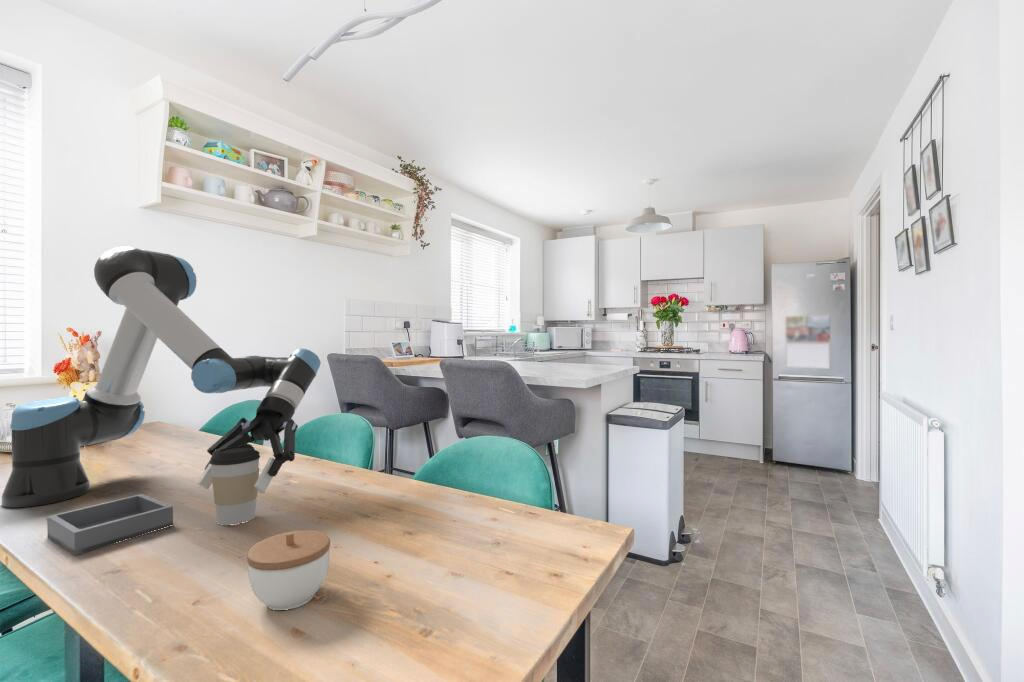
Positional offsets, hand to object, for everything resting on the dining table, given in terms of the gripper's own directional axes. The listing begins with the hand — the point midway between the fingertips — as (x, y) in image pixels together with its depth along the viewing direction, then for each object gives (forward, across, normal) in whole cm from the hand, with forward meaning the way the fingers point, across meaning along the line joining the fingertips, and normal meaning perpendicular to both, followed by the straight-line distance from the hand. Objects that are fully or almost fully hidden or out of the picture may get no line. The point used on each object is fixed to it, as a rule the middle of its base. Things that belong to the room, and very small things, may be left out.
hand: (230, 488), depth 96 cm
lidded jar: (+21, -31, +11) cm, 39 cm away
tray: (+11, +20, +1) cm, 23 cm away
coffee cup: (+4, 0, -6) cm, 7 cm away
